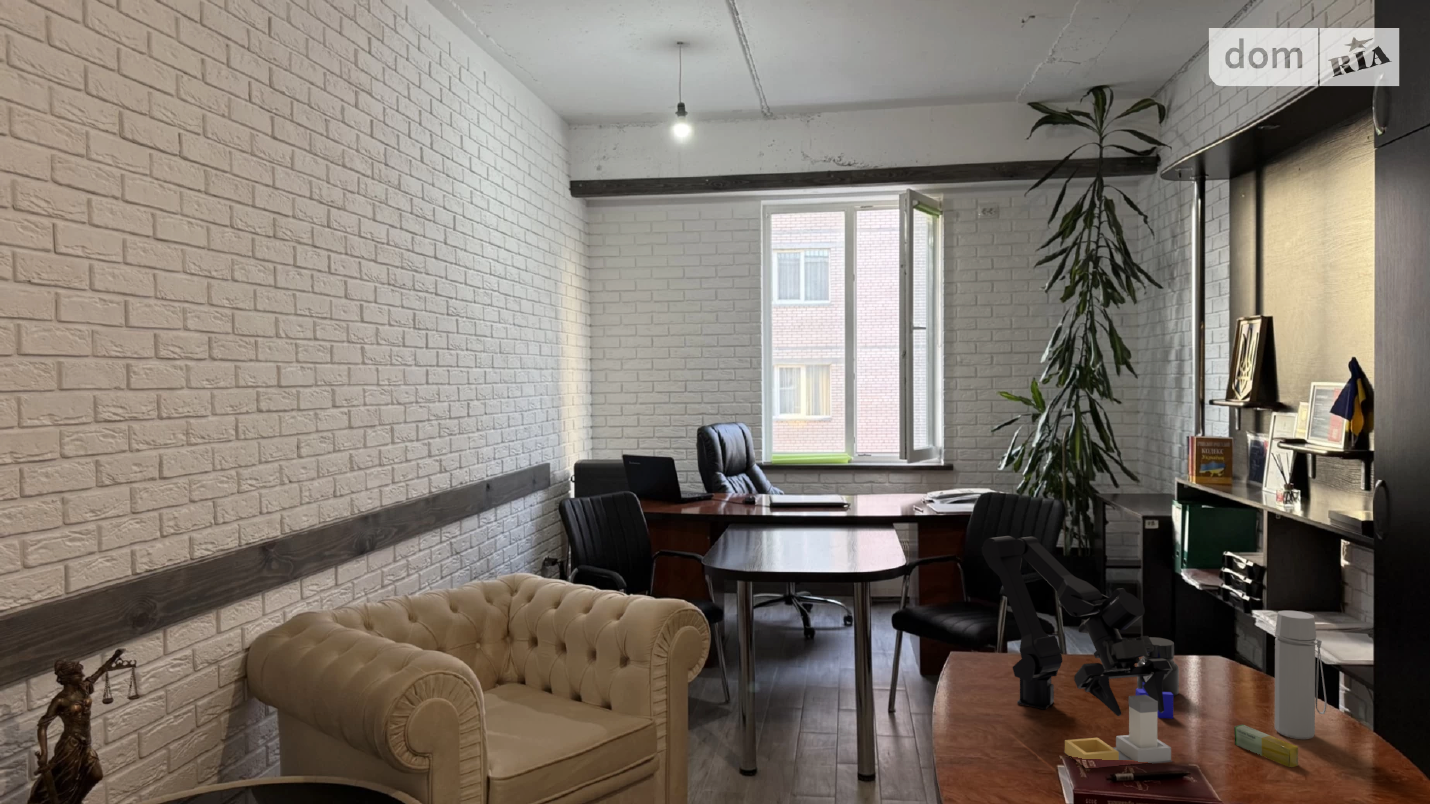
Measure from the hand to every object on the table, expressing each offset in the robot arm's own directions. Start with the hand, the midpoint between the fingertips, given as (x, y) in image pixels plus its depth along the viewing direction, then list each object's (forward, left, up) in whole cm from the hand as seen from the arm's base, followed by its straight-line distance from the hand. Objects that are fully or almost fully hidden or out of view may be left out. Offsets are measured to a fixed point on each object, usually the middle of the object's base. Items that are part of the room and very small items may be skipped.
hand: (1141, 713), depth 178 cm
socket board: (-3, -5, -8) cm, 10 cm away
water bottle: (+24, +30, -9) cm, 39 cm away
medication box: (+20, +15, -9) cm, 26 cm away
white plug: (0, -1, -8) cm, 8 cm away
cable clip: (-3, +27, -9) cm, 29 cm away
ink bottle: (-5, +41, -9) cm, 42 cm away
